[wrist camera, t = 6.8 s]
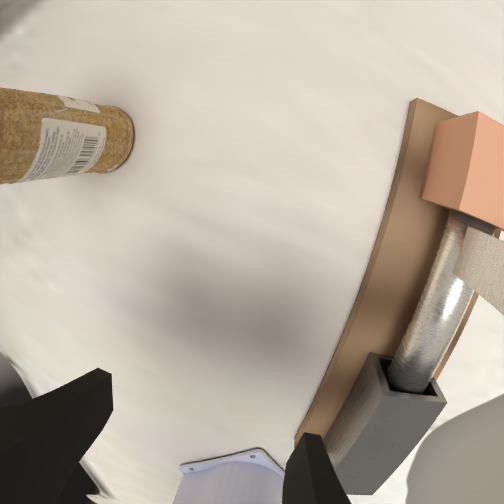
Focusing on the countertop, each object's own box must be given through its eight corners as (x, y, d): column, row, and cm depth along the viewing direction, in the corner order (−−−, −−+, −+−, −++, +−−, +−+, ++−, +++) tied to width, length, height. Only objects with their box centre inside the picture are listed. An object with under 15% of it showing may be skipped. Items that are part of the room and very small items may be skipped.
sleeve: (365, 454, 21) (371, 495, 17) (317, 449, 21) (317, 491, 17) (425, 362, 18) (447, 402, 14) (369, 351, 18) (383, 395, 14)
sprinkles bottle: (118, 93, 17) (-57, 51, 4) (147, 147, 18) (-46, 144, 5) (72, 135, 18) (-96, 138, 6) (98, 187, 19) (-80, 228, 6)
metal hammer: (404, 392, 18) (435, 477, 11) (369, 387, 18) (390, 479, 11) (489, 180, 14) (580, 196, 7) (452, 162, 14) (543, 167, 7)
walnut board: (380, 448, 22) (382, 458, 21) (294, 437, 22) (294, 447, 21) (508, 149, 15) (518, 149, 14) (410, 101, 15) (417, 97, 14)
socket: (486, 224, 15) (532, 243, 11) (419, 197, 16) (458, 209, 11) (502, 155, 14) (550, 157, 9) (435, 122, 14) (478, 111, 10)
